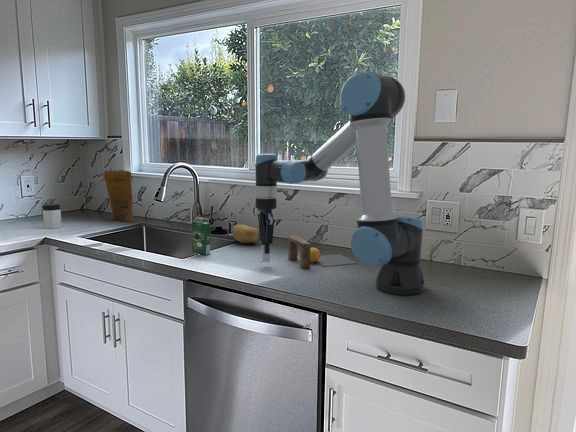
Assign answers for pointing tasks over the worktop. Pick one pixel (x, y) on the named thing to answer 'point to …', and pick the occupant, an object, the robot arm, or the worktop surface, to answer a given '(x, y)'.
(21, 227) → the worktop surface
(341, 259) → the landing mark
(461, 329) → the worktop surface
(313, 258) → the ball
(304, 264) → the bridge
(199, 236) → the coffee box
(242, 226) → the potato
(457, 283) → the worktop surface
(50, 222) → the jar
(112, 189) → the pancake mix bag
